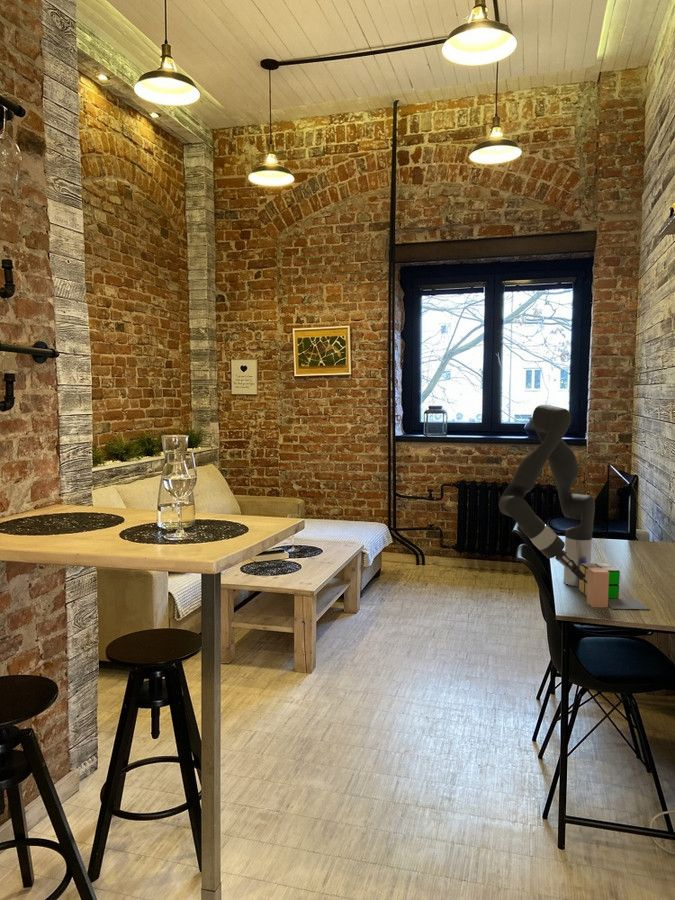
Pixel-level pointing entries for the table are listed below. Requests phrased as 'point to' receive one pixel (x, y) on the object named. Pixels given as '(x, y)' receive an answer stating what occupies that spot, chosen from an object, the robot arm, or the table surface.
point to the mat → (626, 604)
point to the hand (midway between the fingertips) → (582, 577)
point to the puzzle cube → (613, 578)
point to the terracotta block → (597, 587)
